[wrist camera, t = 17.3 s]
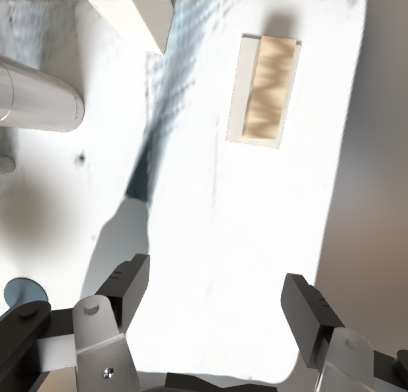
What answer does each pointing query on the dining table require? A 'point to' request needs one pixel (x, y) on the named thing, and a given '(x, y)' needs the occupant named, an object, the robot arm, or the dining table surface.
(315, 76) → the dining table surface
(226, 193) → the dining table surface
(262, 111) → the birch block
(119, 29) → the milk carton
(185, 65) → the dining table surface
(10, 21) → the dining table surface
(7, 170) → the hip flask
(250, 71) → the white board
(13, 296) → the cocktail glass
